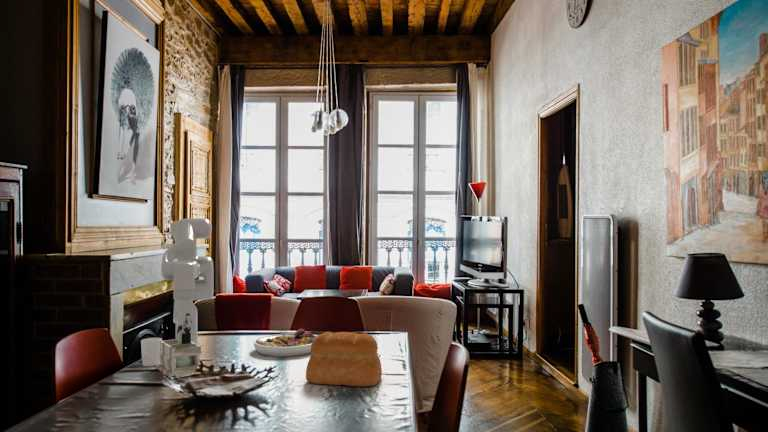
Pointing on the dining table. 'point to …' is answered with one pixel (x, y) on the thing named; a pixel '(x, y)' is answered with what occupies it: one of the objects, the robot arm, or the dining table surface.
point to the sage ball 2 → (183, 362)
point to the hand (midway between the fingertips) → (183, 341)
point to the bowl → (285, 344)
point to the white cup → (150, 351)
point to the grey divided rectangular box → (175, 350)
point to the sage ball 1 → (180, 336)
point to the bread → (344, 360)
